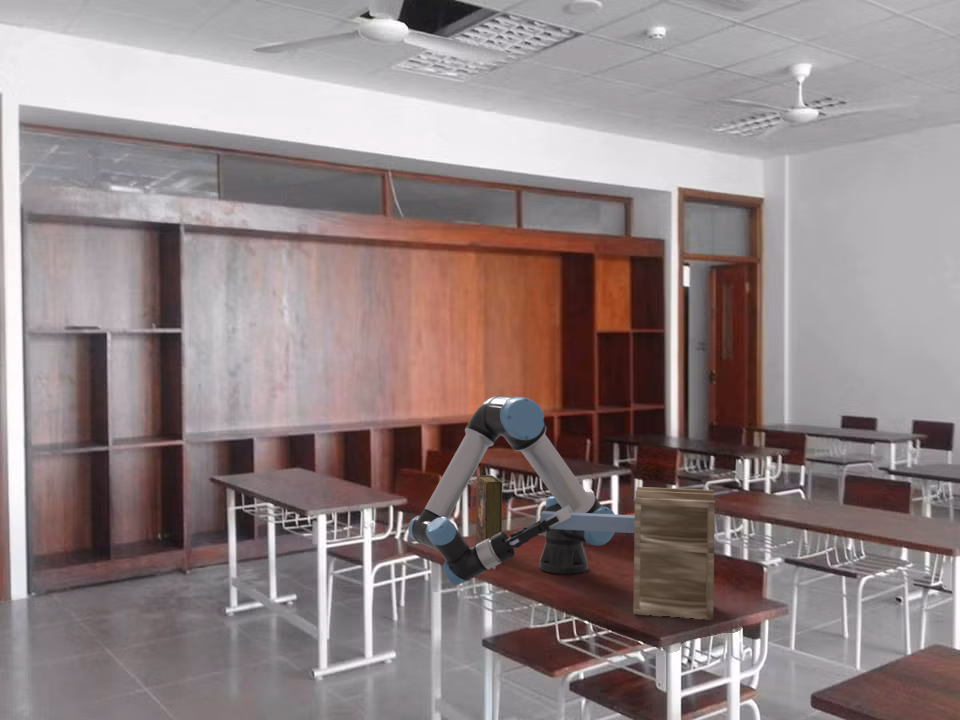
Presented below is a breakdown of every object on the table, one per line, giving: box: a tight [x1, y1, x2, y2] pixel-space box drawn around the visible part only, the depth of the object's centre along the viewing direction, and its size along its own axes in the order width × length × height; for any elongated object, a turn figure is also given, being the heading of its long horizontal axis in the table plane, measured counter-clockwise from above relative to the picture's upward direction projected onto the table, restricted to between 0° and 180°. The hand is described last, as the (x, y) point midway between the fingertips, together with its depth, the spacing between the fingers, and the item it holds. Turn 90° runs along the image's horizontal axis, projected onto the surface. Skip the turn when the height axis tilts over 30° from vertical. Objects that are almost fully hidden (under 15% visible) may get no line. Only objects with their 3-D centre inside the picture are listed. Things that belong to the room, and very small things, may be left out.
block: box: [539, 510, 635, 534], centre depth 240 cm, size 4×26×4 cm, turn 77°
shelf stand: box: [632, 486, 716, 621], centre depth 236 cm, size 14×20×32 cm
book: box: [475, 474, 503, 545], centre depth 303 cm, size 16×6×25 cm, turn 12°
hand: (569, 511), depth 241 cm, fingers closed on block, 4 cm apart
